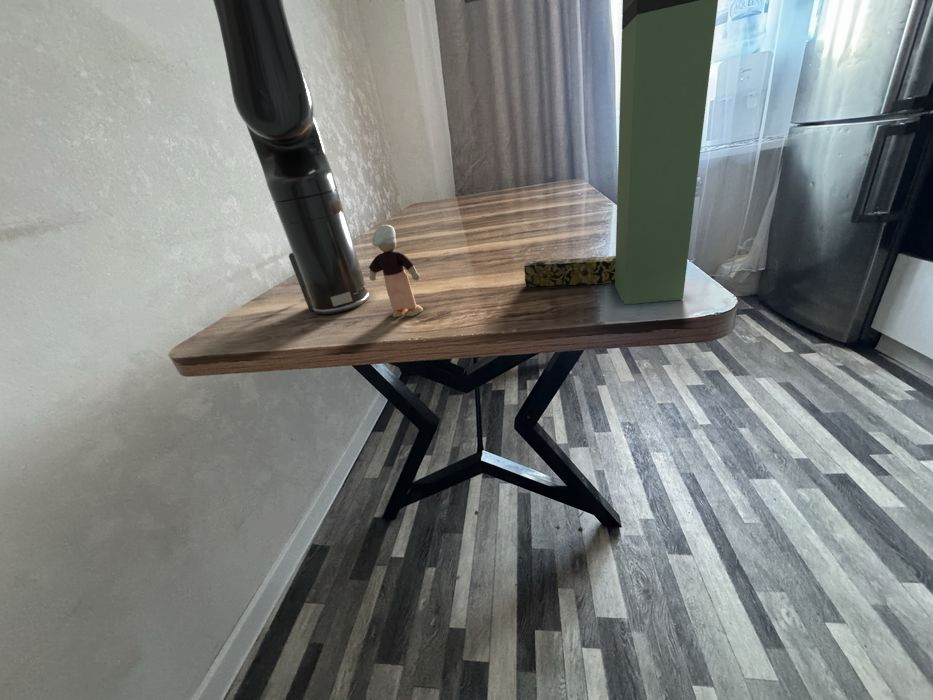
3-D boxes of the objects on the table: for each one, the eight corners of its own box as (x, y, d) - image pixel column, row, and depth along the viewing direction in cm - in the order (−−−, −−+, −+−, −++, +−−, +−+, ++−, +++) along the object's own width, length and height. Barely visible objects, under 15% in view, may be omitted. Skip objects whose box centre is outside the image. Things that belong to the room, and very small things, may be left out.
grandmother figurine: (431, 305, 58) (412, 218, 52) (426, 315, 54) (405, 224, 48) (383, 310, 59) (359, 226, 53) (375, 321, 56) (349, 232, 50)
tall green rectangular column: (624, 304, 47) (639, -43, 32) (614, 286, 53) (623, -17, 38) (683, 299, 46) (726, -65, 31) (666, 281, 52) (696, -35, 37)
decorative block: (525, 287, 58) (523, 264, 56) (528, 281, 60) (526, 259, 58) (636, 283, 53) (637, 258, 51) (635, 277, 55) (636, 253, 53)
